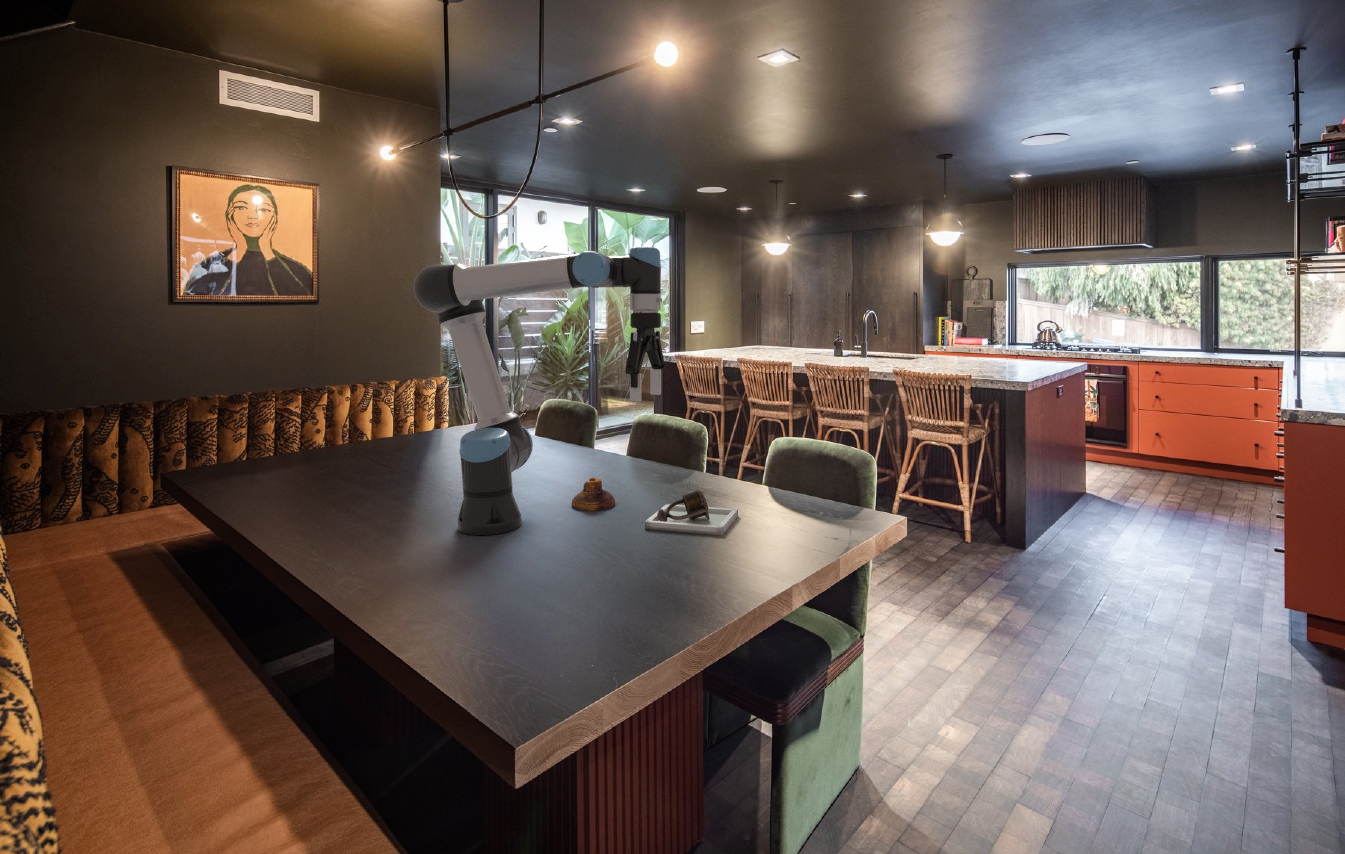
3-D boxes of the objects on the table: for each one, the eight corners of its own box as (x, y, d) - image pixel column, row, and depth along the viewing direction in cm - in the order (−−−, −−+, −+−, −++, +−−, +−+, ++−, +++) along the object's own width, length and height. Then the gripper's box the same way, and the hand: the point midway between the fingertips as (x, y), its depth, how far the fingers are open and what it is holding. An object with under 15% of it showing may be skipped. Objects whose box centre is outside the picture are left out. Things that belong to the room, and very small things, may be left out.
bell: (598, 513, 184) (597, 486, 183) (562, 507, 190) (561, 481, 189) (624, 503, 194) (623, 477, 193) (589, 497, 200) (588, 472, 199)
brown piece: (709, 505, 167) (714, 485, 176) (655, 498, 169) (663, 479, 178) (707, 531, 170) (712, 511, 179) (654, 525, 171) (662, 505, 181)
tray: (644, 528, 170) (644, 521, 170) (666, 510, 185) (666, 503, 185) (722, 535, 164) (721, 527, 164) (738, 516, 179) (738, 509, 179)
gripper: (640, 312, 162) (641, 404, 166) (676, 311, 185) (676, 392, 189) (610, 312, 165) (611, 403, 168) (649, 311, 188) (650, 391, 191)
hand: (646, 397), depth 179 cm, fingers open, 13 cm apart
